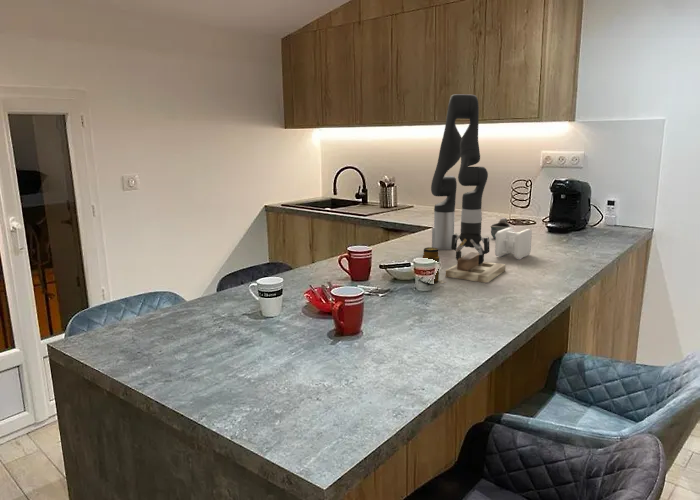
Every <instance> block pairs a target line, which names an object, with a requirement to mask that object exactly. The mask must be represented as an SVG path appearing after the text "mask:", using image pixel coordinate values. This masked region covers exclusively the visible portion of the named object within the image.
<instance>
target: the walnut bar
mask: <svg viewBox="0 0 700 500" xmlns="http://www.w3.org/2000/svg"><path fill="white" fill-rule="evenodd" d="M479 255H480V254H479V252H474V251H470V252H468V253H467V254H465V255H463V256H461V258H459V259H457V260H456V263H457V264H456V265H457V270H463V271H468V270H470V269H472V268H474V267H475V266H477V265H479V264H478V262H479Z"/></svg>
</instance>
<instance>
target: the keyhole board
mask: <svg viewBox="0 0 700 500" xmlns="http://www.w3.org/2000/svg"><path fill="white" fill-rule="evenodd" d="M506 265H507V264H505V263H497V262H496V263H495V262H489V261H484V262H483V263H482V264H481V265H480V264H479V265H477V266H475V267H474V268H472V269H470V270H468V271H463V270H457V264H454V265H453V266H451V267H449V268H447V269H445V278H451V279H458V280H465V281H471V282H479V283H484V284H488V283H490V282H491V281H493V280H494V279H495V278H497V277H498V276H500V275H501V274H502V273H504V272H506V267H507V266H506Z"/></svg>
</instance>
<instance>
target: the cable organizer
mask: <svg viewBox="0 0 700 500" xmlns="http://www.w3.org/2000/svg"><path fill="white" fill-rule="evenodd" d="M532 235H533V230H532V228H531V229H530V228H526V229H523V230H522V231H518V232H516V231H515V229H514V227H510V228H509V227H508V228H505V229H503V230H500V231H498V232H497V233H496V234H495V237H496V239H495V241H494V242H495V245H494V248H495V249H494V255H495V256H496V257H498V258H501V257H504V256H505V255H506V256H507V255H508V254H512V256H514V258H515V259H517V260H519V261H520V260H522V259H523V258H524V257H525V258H526V257H528V256H529V255H530V254H531V251H532V237H533V236H532Z"/></svg>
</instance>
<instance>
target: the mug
mask: <svg viewBox="0 0 700 500" xmlns="http://www.w3.org/2000/svg"><path fill="white" fill-rule="evenodd" d="M508 227H509V228H512V227H511V224H509V222H508V219H507V218H506V217H501V218H500V219H499V221H498V222H496V223H492V224H490V234H491V236H492V238H493V239H495V240H496V237H495V234H496V233H497V232H498V231H500V230H503V229H505V228H508Z"/></svg>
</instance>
